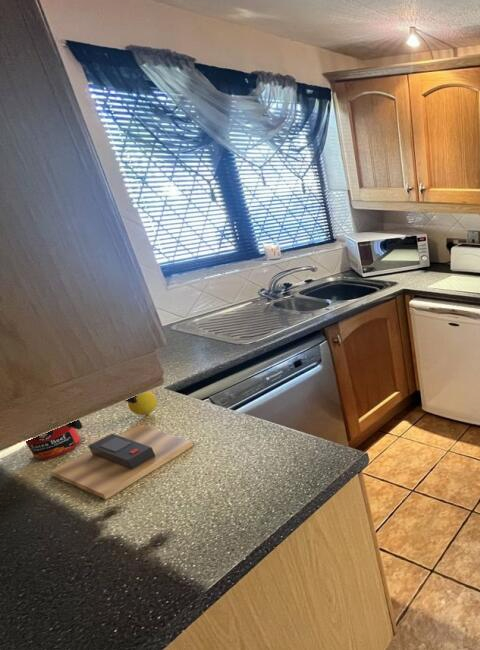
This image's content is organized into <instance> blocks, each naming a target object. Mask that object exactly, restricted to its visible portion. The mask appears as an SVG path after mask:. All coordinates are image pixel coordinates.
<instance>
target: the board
mask: <svg viewBox="0 0 480 650" xmlns="http://www.w3.org/2000/svg"><path fill="white" fill-rule="evenodd" d="M118 436H121V437H124V438H127V439H130V440H132V441H135V442H138V443H141V444H144V445H147V446H150V447H152V449H153V452H154V454H155V456H154V457H153V458H151V459H149V460H148V461H146V462H144V463H142V464H141V465H139V466H137V467H136V468H134V469H132V470H131V469H129V468H126V467H124V466H121V465H118V464H116V463H113V462H111V461H108V460H106V459H103V458H100V457H98V456H95V455H93V454H92V453H91V451H90V450H88V451H86V452H84V453H81V454H80V455H78V456H76V457H74V458H72V459H70V460H68V461H66V462H64V463H62V464H60V465H58V466H56V467H54V468H52V469H51V470H49V471H50V474H51V475H52V477H55V478H56V479H59V480H61V481H63V482H65V483H68V484H70V485H72V486H74V487H77V488H79V489H81V490H84V491H86V492H88V493H90V494H92V495H95V496H97V497H99V498H102V499H103V500H108V499H109V498H111V497H113V496H115V495H116V494H117V493H119V492H121V491H123V490H124V489H125V488H128V487H129V486H130V485H133V484H134V483H135V482H137V481H138V480H141V479H142V478H143V477H145V476H147V475H148V474H150V473H151V472H153V471H155V470H156V469H158V468H160V467H161V466H163V465H164V464H166V463H168V462H169V461H171V460H173V459H174V458H176V457H178V456H180V455H181V454H182V453H184V452H186V451H187V450H189V449H191V448H192V447H194V445H193V442H192V440H189V439H186V438H182V437H180V436H176V435H174V434H173V435H172V434H170V433H167V432H164V431H162V430H158V429H155V428H152V427H149V426H146V425H143V424H138V425H136V426H134V427H132V428H131V429H129V430H127V431H125V432H123V433H121V434H119V435H118Z"/></svg>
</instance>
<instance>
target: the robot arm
mask: <svg viewBox="0 0 480 650" xmlns="http://www.w3.org/2000/svg"><path fill="white" fill-rule="evenodd" d="M135 397H137V396H135ZM135 397H133V398H130V399H128V400H125V399H124V401H125V402H127V403H128V402H130V403H136V402H137V400H136V398H135ZM66 426H67V427H69V428H70V427H72V428H75V429H76V430H78V431H79V430H81V429H82V428H83V427H84V426H83V424H82V423H81V420H80V419H79V420H77V421H74V422H72V423H69V424H67V425H66Z"/></svg>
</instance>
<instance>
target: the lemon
mask: <svg viewBox="0 0 480 650" xmlns="http://www.w3.org/2000/svg"><path fill="white" fill-rule="evenodd" d="M147 391H148V392H146V393H143V394H141V395H138V396H137V397H135V398H136V400H137V402H136V403H130V402H127V405H128V408H129V410H130V411H131V412H132V413H133V414H135V415H139V416H148V415H150V414H151V413H152V412H153V411H154V410H156V407H157V404H158V402H157V397H156V396H155V394H154V393H152V391H150V390H147Z"/></svg>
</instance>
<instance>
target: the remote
mask: <svg viewBox="0 0 480 650" xmlns="http://www.w3.org/2000/svg"><path fill="white" fill-rule="evenodd" d="M87 447H88V449H89V451H91V453H92V454H93V455H95V456H98V457H100V458H103V459H106V460H108V461H111V462H113V463H116V464H118V465H121V466H124V467H126V468H129V469H131V470H132V469H134V468H136V467H137V466H139V465H141V464H142V463H144V462H146V461H148V460H149V459H151V458H153V457H154V456H155V454H154V452H153V449H152V447H150V446H147V445H144V444H141V443H138V442H135V441H132V440H130V439H127V438H124V437H121V436H119V435H118V434H116V433H110V434H107V435H106V436H105V437H101V438H100V439H99V440H96V441H95V442H92V443H90V444H89V445H88V446H87Z"/></svg>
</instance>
